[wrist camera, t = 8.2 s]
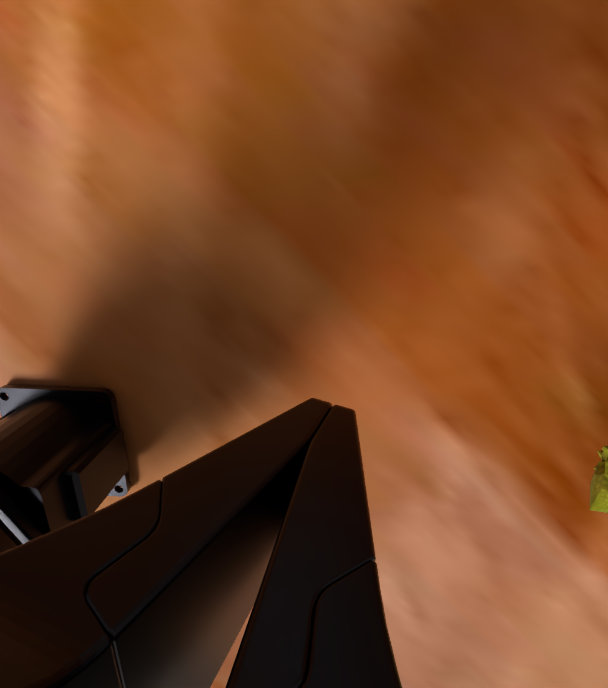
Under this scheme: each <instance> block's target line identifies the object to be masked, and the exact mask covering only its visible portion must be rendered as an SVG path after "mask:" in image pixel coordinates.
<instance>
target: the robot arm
mask: <svg viewBox="0 0 608 688" xmlns="http://www.w3.org/2000/svg"><path fill="white" fill-rule="evenodd" d="M6 394H8V396H9V397H8V396H7V395H6ZM101 396H103V397H105V398H106V401H104V400H103V399H102V397H101ZM0 413H1V418H0V688H210V687H211V685H212V683H213V681H214V679H215V677H216V675H217V673H218V671H219V670H220V668H221V666H222V664H223V662H224V660H225V658H226V656H227V654H228V653H229V651H230V649H231V647H232V645H233V643H234V641H235V639H236V637H237V635H238V634H239V632H240V630H241V628H242V626H243V624H244V622H245V620H246V618H247V616H248V615H249V613H250V611H251V609H252V607H253V609H252V612H251V615H250V618H249V621H248V624H247V627H246V629H245V632H244V635H243V638H242V641H241V644H240V647H239V650H238V653H237V656H236V659H235V662H234V665H233V667H232V670H231V673H230V676H229V679H228V682H227V685H226V688H402V686H401V682H400V678H399V675H398V671H397V667H396V663H395V658H394V654H393V650H392V646H391V642H390V637H389V633H388V629H387V625H386V619H385V613H384V608H383V602H382V596H381V591H380V584H379V577H378V570H377V564H376V562H375V559H376V558H375V550H374V543H373V536H372V529H371V522H370V514H369V507H368V500H367V493H366V486H365V478H364V471H363V464H362V457H361V449H360V442H359V435H358V428H357V421H356V414H355V411H354V410H352V409H349V408H346V407H343V406H339V405H334V406H333V407H332V404H331V403H329V402H326V401H322V400H319V399H315V398H311V399H308V400H306V401H305V402H303V403H301V404H299V405H297V406H295V407H293V408H292V409H290V410H288V411H286V412H284V413H282V414H280V415H279V416H277V417H275V418H273V419H271V420H269V421H267V422H266V423H264V424H262V425H260V426H258V427H256V428H254V429H253V430H251V431H249V432H247V433H245V434H243V435H241V436H240V437H238V438H236V439H234V440H232V441H230V442H228V443H226V444H225V445H223V446H221V447H219V448H217V449H215V450H213V451H212V452H210V453H208V454H206V455H204V456H202V457H200V458H199V459H197V460H195V461H193V462H191V463H189V464H187V465H186V466H184V467H182V468H180V469H178V470H176V471H174V472H173V473H171V474H169V475H167V476H165V477H163V479H162V481H161V480H157V481H155V482H154V483H152V484H150V485H148V486H146V487H144V488H142V489H141V490H139V491H137V492H135V493H133V494H131V495H129V496H127V497H125V498H123V499H121V500H119V501H117V502H115V503H113V504H111V505H109V506H107V507H105V508H103V509H101V510H99V511H96V512H95V510H96V509H97V508H98V507H99V505H100V504H101V503H102V502H103V500H104V499H105V498H106V497H107V496H124V495H126V494H127V493H128V491H129V490H130V488H131V483H130V478H129V472H128V470H129V464H128V458H127V453H126V447H125V441H124V436H123V431H122V429H121V428H120V422H119V417H118V411H117V406H116V400H115V396H114V394H113V393H112V391H110V390H109V389H106V388H85V387H57V386H30V385H4V386H2V387H1V388H0ZM119 486H121V487H122V488H121V487H119ZM253 605H254V606H253Z"/></svg>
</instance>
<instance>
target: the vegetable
mask: <svg viewBox="0 0 608 688" xmlns="http://www.w3.org/2000/svg"><path fill="white" fill-rule="evenodd" d="M602 450H603V451H597V452H598V454H599V456H600V458H601V460H602V462H598V465H597V466H596V467H594V469H595V472H594V474H593V477H592V480H591V483H590V510H593V511H599V512H606V513H608V446H604V447H603V448H602Z"/></svg>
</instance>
